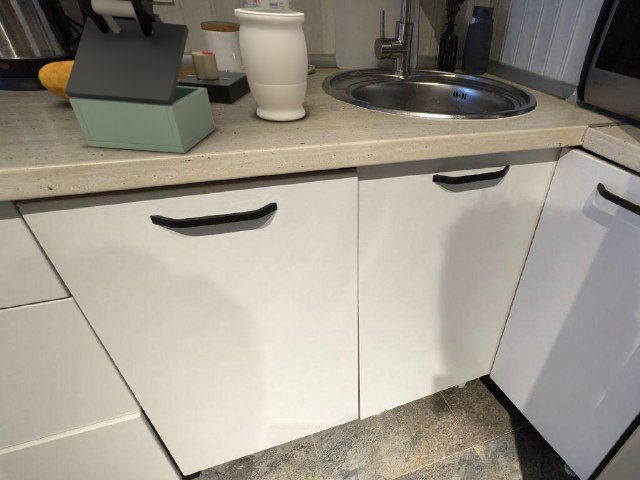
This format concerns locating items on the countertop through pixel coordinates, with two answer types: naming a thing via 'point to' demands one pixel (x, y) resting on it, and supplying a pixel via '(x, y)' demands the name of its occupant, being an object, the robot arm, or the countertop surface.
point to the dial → (205, 65)
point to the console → (221, 86)
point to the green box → (147, 122)
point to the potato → (56, 77)
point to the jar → (274, 60)
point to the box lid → (127, 58)
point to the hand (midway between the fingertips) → (127, 34)
